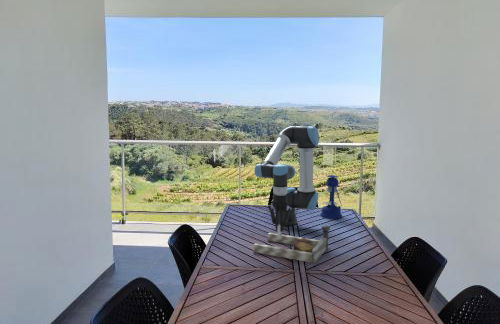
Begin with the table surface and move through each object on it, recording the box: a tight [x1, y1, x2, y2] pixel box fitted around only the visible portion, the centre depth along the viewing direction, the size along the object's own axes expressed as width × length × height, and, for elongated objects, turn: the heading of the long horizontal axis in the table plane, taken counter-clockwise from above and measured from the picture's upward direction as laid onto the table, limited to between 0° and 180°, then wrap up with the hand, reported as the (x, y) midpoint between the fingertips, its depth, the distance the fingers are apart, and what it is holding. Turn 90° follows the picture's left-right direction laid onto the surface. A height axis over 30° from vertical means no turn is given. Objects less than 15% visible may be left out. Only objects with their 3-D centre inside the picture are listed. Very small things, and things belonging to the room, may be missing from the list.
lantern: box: [319, 174, 343, 220], centre depth 259 cm, size 17×15×30 cm
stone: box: [293, 237, 315, 253], centre depth 191 cm, size 15×9×5 cm, turn 16°
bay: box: [252, 225, 331, 264], centre depth 193 cm, size 34×26×12 cm
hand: (279, 236), depth 195 cm, fingers closed
